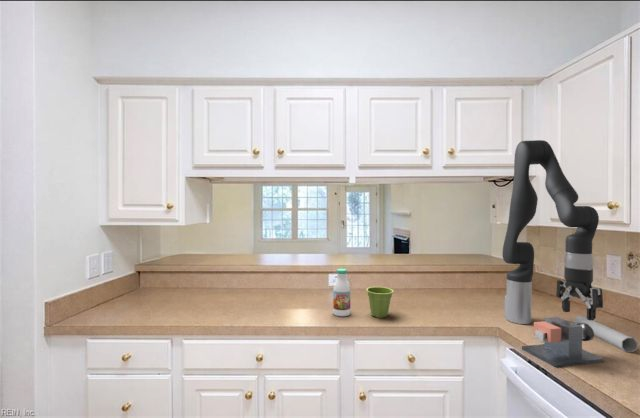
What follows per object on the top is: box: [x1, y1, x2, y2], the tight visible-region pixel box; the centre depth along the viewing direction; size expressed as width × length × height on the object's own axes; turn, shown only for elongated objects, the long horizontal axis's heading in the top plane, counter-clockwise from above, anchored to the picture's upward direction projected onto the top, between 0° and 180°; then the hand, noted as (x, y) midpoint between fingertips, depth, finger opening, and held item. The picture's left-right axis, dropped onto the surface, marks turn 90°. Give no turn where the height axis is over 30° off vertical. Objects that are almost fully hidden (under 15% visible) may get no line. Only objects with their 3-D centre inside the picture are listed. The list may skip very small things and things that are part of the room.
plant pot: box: [366, 286, 394, 318], centre depth 151 cm, size 12×12×11 cm
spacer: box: [533, 320, 561, 342], centre depth 110 cm, size 6×4×4 cm, turn 12°
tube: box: [573, 315, 639, 353], centre depth 127 cm, size 5×5×25 cm
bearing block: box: [521, 316, 605, 368], centre depth 111 cm, size 13×18×11 cm
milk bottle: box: [332, 268, 351, 317], centre depth 152 cm, size 8×8×20 cm
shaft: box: [534, 323, 595, 343], centre depth 111 cm, size 6×18×6 cm, turn 101°
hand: (578, 315), depth 112 cm, fingers open, 8 cm apart
